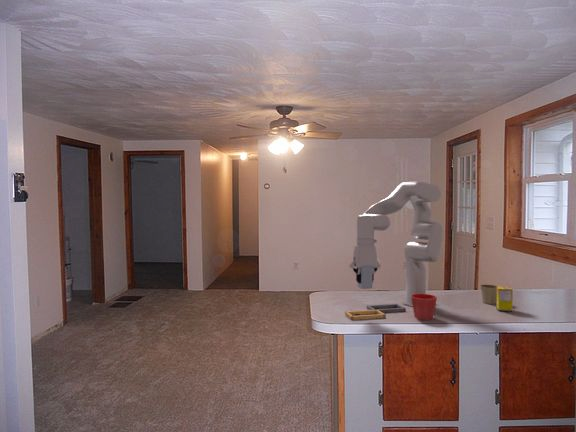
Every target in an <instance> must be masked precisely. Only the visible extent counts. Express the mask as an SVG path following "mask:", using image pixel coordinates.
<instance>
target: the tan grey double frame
mask: <svg viewBox="0 0 576 432" xmlns="http://www.w3.org/2000/svg"><path fill="white" fill-rule="evenodd" d="M395 307H396V308H395ZM375 308H378V309H375ZM406 310H407V309H406V307H405V306H403V305H400V304H399V303H391V304H390V303H388V304H369V305H367V304H366V309H362V310H350V311H348V310H347V311H346V310H345V311H344V316H345V317H347V318H348V319H349V320H351V321H355V320H356V321H357V320H358V321H359V320H360V319H361V320H372V319H373V320H375V319H376V318H377V319H386V314H387V313H386V312H388V313H401V312H404V313H405V312H406ZM374 313H377V314H374ZM355 314H360V315H355Z"/></svg>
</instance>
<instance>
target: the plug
mask: <svg viewBox="0 0 576 432" xmlns="http://www.w3.org/2000/svg"><path fill="white" fill-rule="evenodd" d="M360 274H361V283H358V282H357V288H359V289H362V290H365V289H373V283H372V274H373V266H362V267H361V272H360Z"/></svg>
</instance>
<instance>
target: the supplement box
mask: <svg viewBox="0 0 576 432" xmlns="http://www.w3.org/2000/svg"><path fill="white" fill-rule="evenodd" d="M496 286H497V302H496V309H497V311H498V312H501V313H502V312H505V313H513V300H514V299H513V298H514V297H513V293H514V292H513V288H511V287H510V286H499V285H496Z"/></svg>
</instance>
